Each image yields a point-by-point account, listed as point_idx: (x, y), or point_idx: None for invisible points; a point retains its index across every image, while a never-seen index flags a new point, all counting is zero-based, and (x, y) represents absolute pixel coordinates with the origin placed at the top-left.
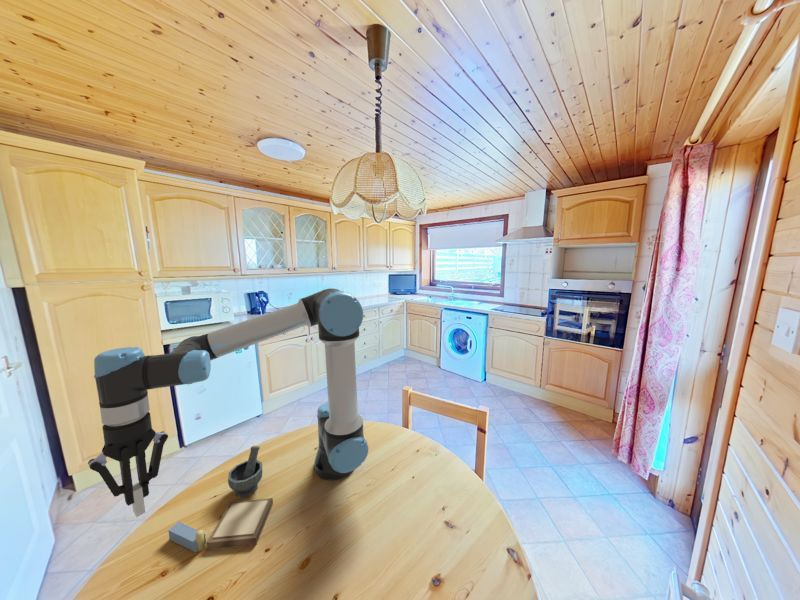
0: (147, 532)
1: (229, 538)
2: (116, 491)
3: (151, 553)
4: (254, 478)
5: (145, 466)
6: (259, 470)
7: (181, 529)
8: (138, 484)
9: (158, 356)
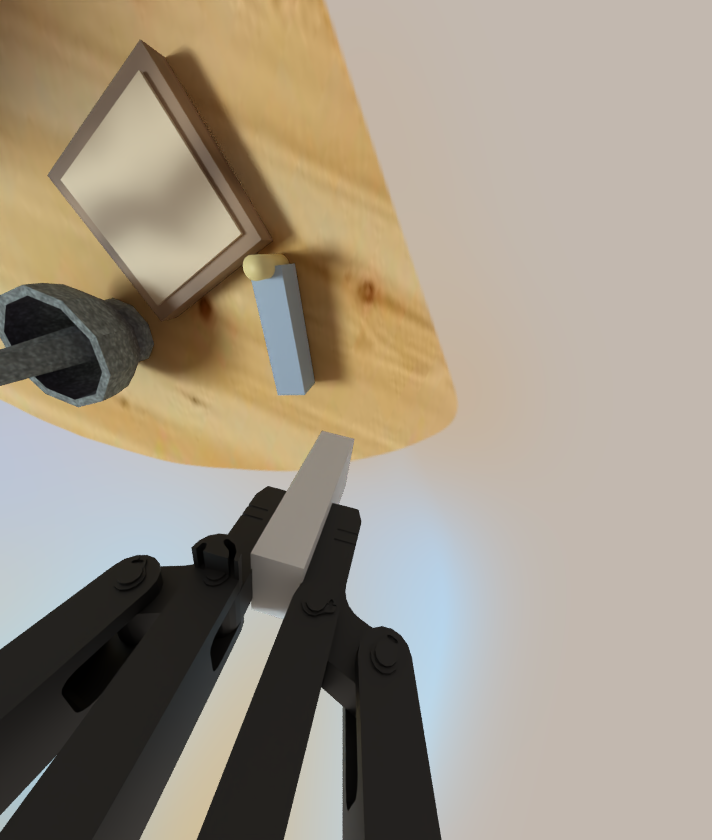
0: None
1: (208, 165)
2: (387, 688)
3: (354, 387)
4: (37, 286)
5: (32, 803)
6: (7, 297)
7: (284, 360)
8: (258, 594)
9: None
